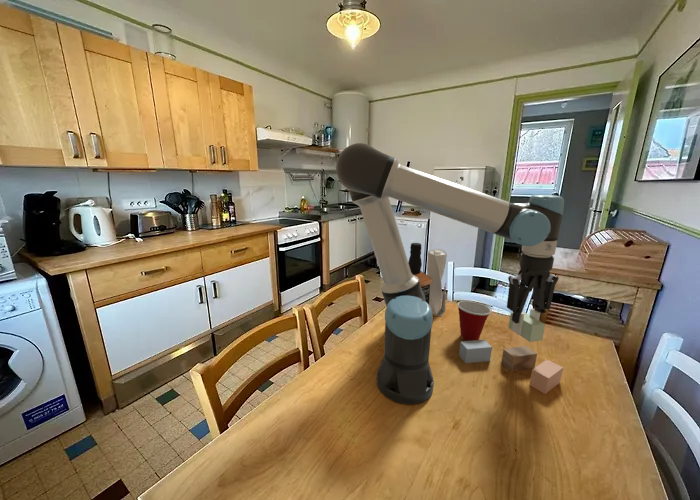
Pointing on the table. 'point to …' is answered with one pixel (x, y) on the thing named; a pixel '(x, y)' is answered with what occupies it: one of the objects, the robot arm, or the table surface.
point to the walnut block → (519, 358)
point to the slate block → (475, 351)
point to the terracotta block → (546, 376)
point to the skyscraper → (436, 281)
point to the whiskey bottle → (419, 269)
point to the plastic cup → (472, 319)
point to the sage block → (530, 328)
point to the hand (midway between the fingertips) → (524, 331)
